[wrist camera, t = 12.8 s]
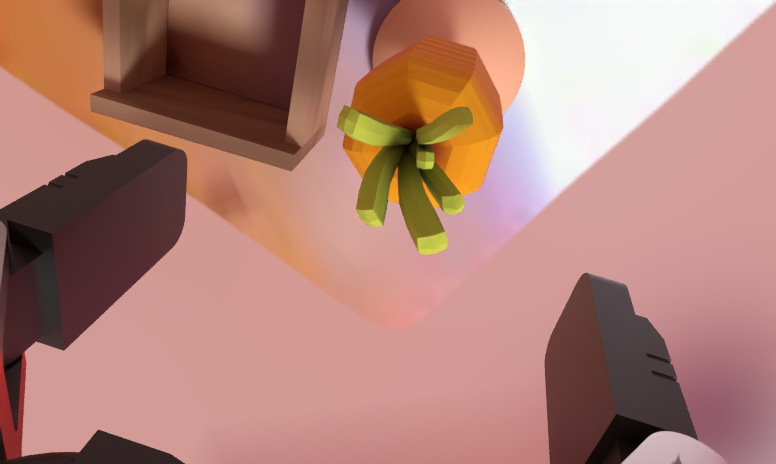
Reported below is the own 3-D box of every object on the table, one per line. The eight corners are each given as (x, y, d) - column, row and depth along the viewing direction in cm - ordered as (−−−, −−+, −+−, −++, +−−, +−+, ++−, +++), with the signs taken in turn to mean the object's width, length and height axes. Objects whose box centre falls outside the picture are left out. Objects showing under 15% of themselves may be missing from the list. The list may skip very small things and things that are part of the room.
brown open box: (155, -124, 25) (82, -135, 21) (360, -68, 25) (329, -67, 20) (151, 84, 30) (91, 111, 26) (323, 135, 30) (291, 171, 25)
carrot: (389, 16, 26) (267, 107, 13) (501, 1, 24) (495, 84, 11) (403, 122, 28) (313, 294, 15) (507, 113, 27) (507, 290, 14)
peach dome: (393, -38, 25) (391, -37, 25) (547, 5, 25) (548, 6, 24) (361, 112, 29) (359, 115, 28) (496, 151, 28) (496, 155, 28)
